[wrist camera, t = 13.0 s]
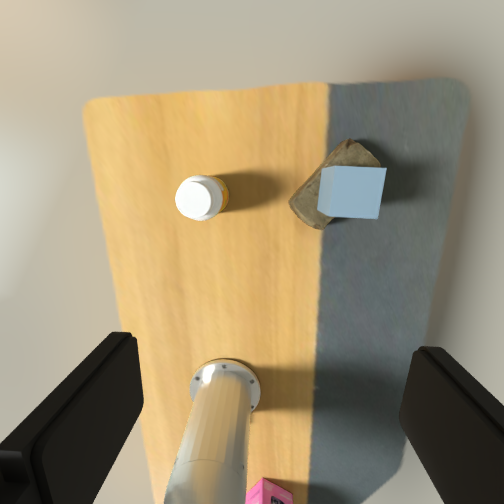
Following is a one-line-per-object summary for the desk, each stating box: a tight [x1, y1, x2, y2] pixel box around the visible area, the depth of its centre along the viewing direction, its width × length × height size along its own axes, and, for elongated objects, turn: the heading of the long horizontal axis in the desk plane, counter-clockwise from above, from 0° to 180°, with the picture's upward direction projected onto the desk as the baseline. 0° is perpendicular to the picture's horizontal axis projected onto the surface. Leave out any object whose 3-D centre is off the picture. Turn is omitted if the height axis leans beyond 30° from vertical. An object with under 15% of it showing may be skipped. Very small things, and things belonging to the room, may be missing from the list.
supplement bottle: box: [175, 175, 229, 221], centre depth 32 cm, size 5×5×10 cm
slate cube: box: [317, 166, 387, 219], centre depth 29 cm, size 5×5×6 cm
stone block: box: [289, 139, 381, 230], centre depth 34 cm, size 6×12×5 cm, turn 140°
